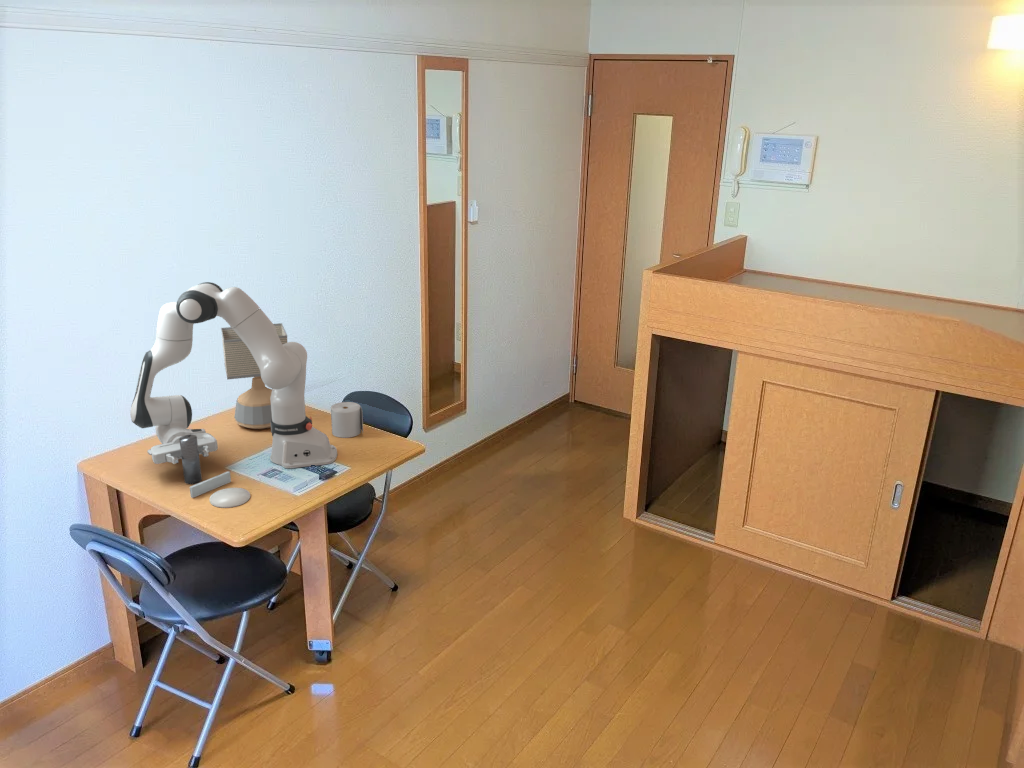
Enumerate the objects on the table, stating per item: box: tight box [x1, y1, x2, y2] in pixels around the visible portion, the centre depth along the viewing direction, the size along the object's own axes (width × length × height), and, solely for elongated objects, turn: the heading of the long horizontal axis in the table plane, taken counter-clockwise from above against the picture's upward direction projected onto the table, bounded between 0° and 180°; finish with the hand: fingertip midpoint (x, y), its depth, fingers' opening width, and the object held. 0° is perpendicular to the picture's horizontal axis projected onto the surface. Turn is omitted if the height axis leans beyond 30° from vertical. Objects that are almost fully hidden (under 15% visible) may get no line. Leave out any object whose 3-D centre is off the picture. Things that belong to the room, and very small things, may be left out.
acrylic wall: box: [189, 471, 232, 499], centre depth 263 cm, size 14×1×4 cm, turn 144°
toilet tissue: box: [330, 401, 364, 439], centre depth 306 cm, size 11×12×10 cm
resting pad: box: [208, 487, 251, 509], centre depth 258 cm, size 12×12×1 cm
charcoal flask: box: [179, 435, 203, 485], centre depth 266 cm, size 5×5×15 cm
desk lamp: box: [220, 323, 289, 430], centre depth 308 cm, size 22×19×37 cm
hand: (191, 457), depth 266 cm, fingers open, 8 cm apart
